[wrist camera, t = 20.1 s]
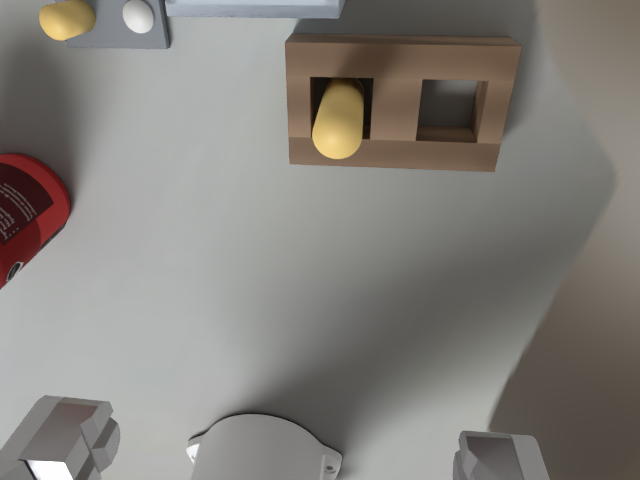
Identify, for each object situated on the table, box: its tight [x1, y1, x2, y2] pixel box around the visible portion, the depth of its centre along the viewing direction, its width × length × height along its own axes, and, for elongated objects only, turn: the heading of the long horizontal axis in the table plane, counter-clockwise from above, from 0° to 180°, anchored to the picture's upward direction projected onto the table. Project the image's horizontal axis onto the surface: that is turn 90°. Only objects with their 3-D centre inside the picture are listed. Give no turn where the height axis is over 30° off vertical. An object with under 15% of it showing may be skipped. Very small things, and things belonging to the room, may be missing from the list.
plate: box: [39, 0, 170, 49], centre depth 30 cm, size 4×7×4 cm, turn 90°
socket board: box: [285, 34, 522, 172], centre depth 32 cm, size 8×14×3 cm, turn 90°
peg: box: [312, 77, 364, 159], centre depth 30 cm, size 3×3×8 cm
